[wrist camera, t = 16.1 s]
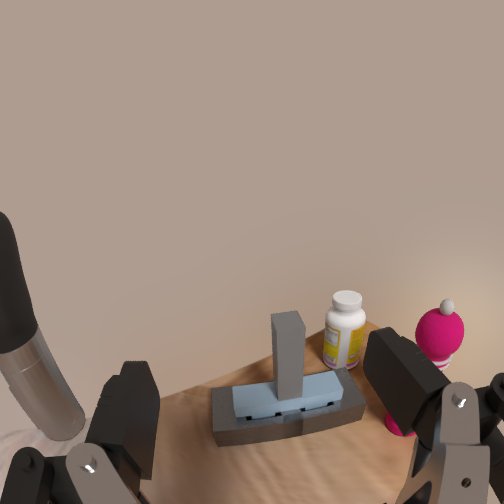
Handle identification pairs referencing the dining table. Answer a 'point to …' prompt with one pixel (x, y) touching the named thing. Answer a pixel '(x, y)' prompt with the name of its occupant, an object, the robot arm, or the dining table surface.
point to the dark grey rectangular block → (285, 416)
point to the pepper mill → (436, 341)
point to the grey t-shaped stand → (287, 376)
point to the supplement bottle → (344, 330)
